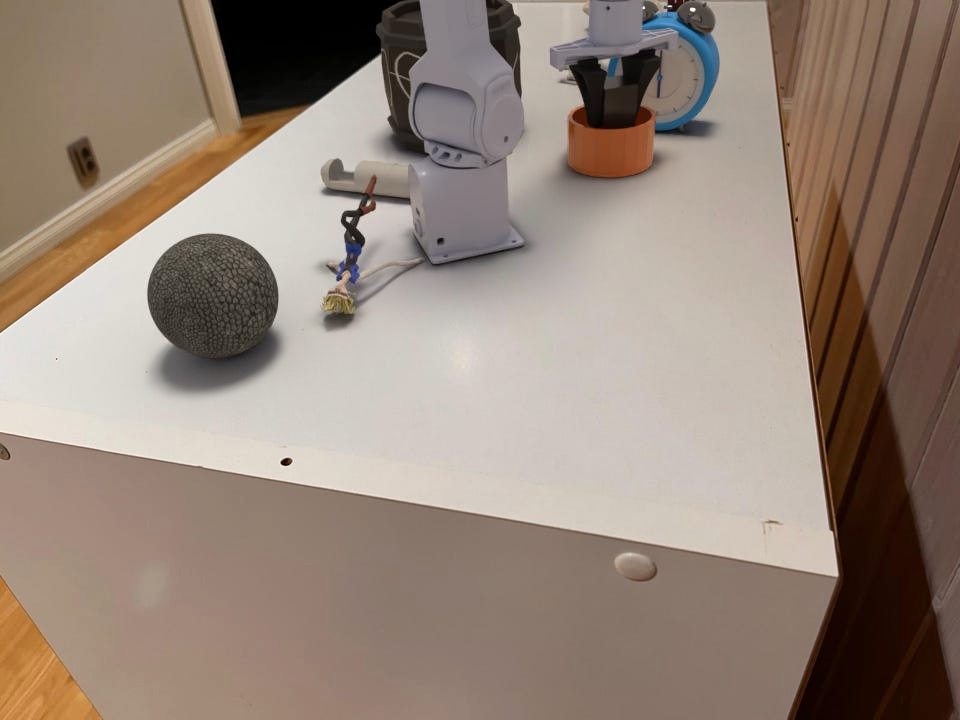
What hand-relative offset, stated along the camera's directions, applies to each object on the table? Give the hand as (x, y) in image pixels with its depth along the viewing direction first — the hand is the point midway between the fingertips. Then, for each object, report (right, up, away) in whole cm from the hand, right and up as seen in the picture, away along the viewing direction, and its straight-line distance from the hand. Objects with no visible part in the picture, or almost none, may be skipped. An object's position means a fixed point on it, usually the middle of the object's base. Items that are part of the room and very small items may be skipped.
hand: (611, 122), depth 90 cm
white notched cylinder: (-25, -9, -1) cm, 27 cm away
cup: (0, -4, +3) cm, 5 cm away
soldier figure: (+2, +13, +26) cm, 30 cm away
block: (0, -1, +1) cm, 1 cm away
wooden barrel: (-18, +2, +13) cm, 23 cm away
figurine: (-27, -21, -17) cm, 38 cm away
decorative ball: (-36, -27, -24) cm, 51 cm away
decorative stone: (+11, +32, +50) cm, 61 cm away
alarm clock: (+8, +3, +11) cm, 14 cm away
